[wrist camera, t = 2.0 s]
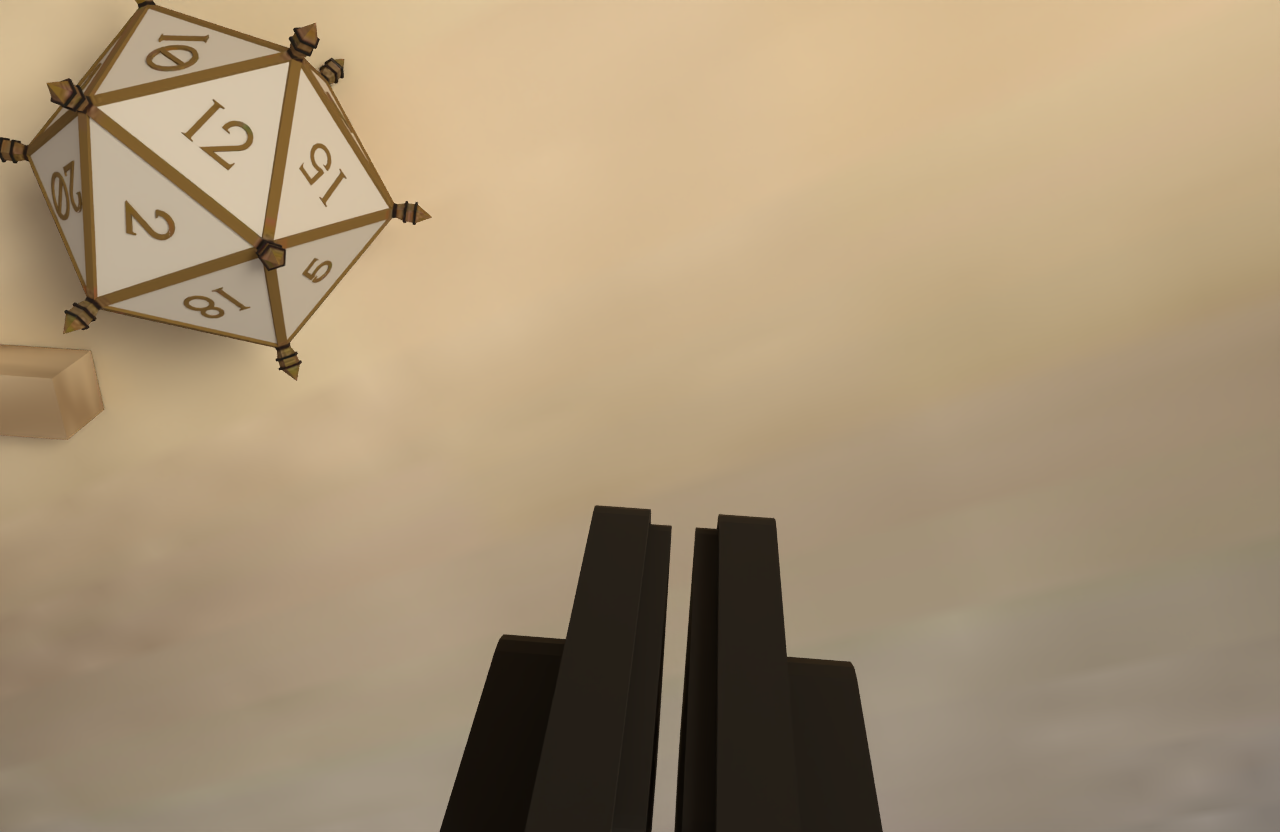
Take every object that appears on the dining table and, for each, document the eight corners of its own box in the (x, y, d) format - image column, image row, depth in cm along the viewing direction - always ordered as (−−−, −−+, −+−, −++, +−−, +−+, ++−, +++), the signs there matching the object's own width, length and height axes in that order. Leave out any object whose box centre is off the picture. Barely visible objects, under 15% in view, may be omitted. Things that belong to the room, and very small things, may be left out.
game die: (319, 181, 32) (89, 423, 27) (137, -88, 26) (-199, 163, 21) (541, 198, 27) (310, 495, 22) (382, -127, 21) (18, 185, 16)
